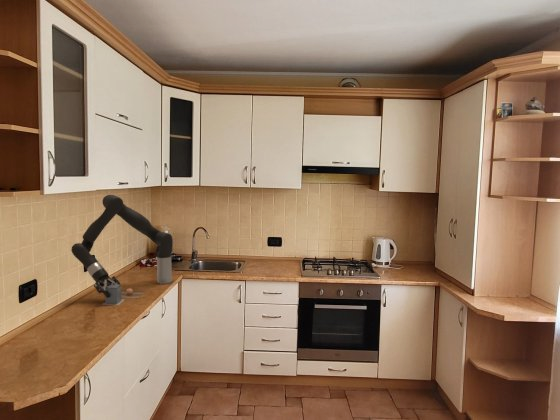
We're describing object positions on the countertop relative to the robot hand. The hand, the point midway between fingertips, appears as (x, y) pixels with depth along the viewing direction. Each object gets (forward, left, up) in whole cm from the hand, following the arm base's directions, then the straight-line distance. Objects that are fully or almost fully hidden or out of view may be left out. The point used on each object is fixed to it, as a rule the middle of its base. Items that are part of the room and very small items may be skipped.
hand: (115, 294), depth 208 cm
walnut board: (-13, +3, -5) cm, 15 cm away
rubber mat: (0, -1, -5) cm, 5 cm away
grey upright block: (0, -1, -4) cm, 4 cm away
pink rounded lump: (-13, +3, -4) cm, 14 cm away
